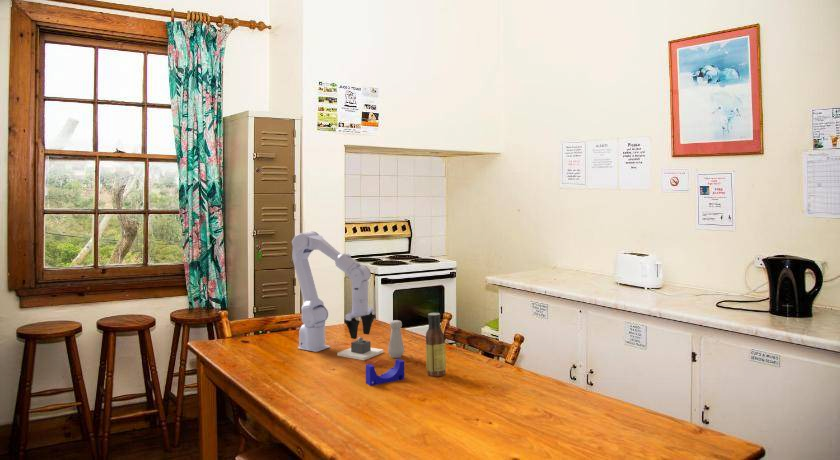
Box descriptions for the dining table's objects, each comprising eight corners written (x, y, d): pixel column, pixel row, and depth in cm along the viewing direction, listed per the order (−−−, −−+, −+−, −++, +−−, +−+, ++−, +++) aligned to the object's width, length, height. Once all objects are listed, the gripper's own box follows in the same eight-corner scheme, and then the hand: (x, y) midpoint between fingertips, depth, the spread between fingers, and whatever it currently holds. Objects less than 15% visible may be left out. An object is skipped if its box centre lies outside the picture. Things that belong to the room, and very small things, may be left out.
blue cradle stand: (397, 375, 184) (397, 357, 184) (404, 379, 180) (404, 361, 180) (363, 382, 178) (363, 363, 177) (370, 386, 174) (369, 367, 174)
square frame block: (351, 351, 207) (351, 342, 207) (359, 348, 212) (359, 339, 211) (362, 353, 205) (362, 344, 204) (370, 350, 209) (370, 341, 209)
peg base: (337, 355, 206) (337, 339, 206) (357, 347, 216) (357, 332, 216) (363, 360, 200) (363, 343, 200) (383, 352, 210) (383, 336, 210)
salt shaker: (405, 354, 207) (405, 319, 207) (403, 359, 202) (403, 322, 201) (389, 354, 208) (389, 318, 207) (386, 358, 202) (386, 322, 201)
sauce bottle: (448, 372, 187) (448, 312, 186) (442, 378, 181) (442, 316, 180) (429, 370, 189) (429, 311, 188) (423, 376, 183) (422, 315, 182)
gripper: (356, 303, 199) (356, 342, 200) (380, 297, 211) (380, 333, 212) (340, 301, 202) (340, 339, 203) (365, 295, 215) (365, 330, 216)
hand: (360, 336), depth 208 cm, fingers open, 7 cm apart
